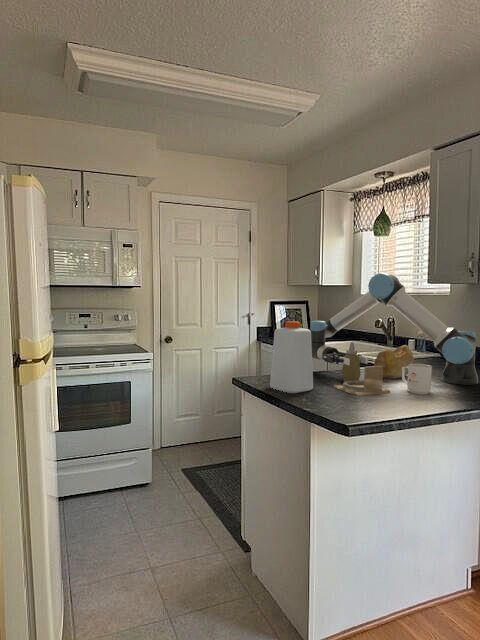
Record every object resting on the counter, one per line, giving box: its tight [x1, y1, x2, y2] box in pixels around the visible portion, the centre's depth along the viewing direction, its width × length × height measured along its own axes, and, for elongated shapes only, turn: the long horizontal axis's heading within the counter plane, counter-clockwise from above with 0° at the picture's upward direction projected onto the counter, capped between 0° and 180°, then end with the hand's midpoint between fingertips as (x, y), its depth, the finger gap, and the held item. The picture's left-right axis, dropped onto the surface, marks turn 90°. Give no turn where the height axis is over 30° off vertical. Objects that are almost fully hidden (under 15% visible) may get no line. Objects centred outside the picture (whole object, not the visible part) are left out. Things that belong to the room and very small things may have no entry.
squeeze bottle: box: [341, 341, 361, 382], centre depth 201 cm, size 8×8×18 cm
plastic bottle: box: [269, 320, 314, 394], centre depth 184 cm, size 15×15×28 cm
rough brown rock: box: [373, 344, 415, 380], centre depth 218 cm, size 23×17×15 cm
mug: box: [401, 363, 433, 395], centre depth 184 cm, size 12×9×11 cm
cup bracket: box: [333, 365, 391, 397], centre depth 185 cm, size 16×16×11 cm
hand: (358, 361), depth 197 cm, fingers open, 9 cm apart
